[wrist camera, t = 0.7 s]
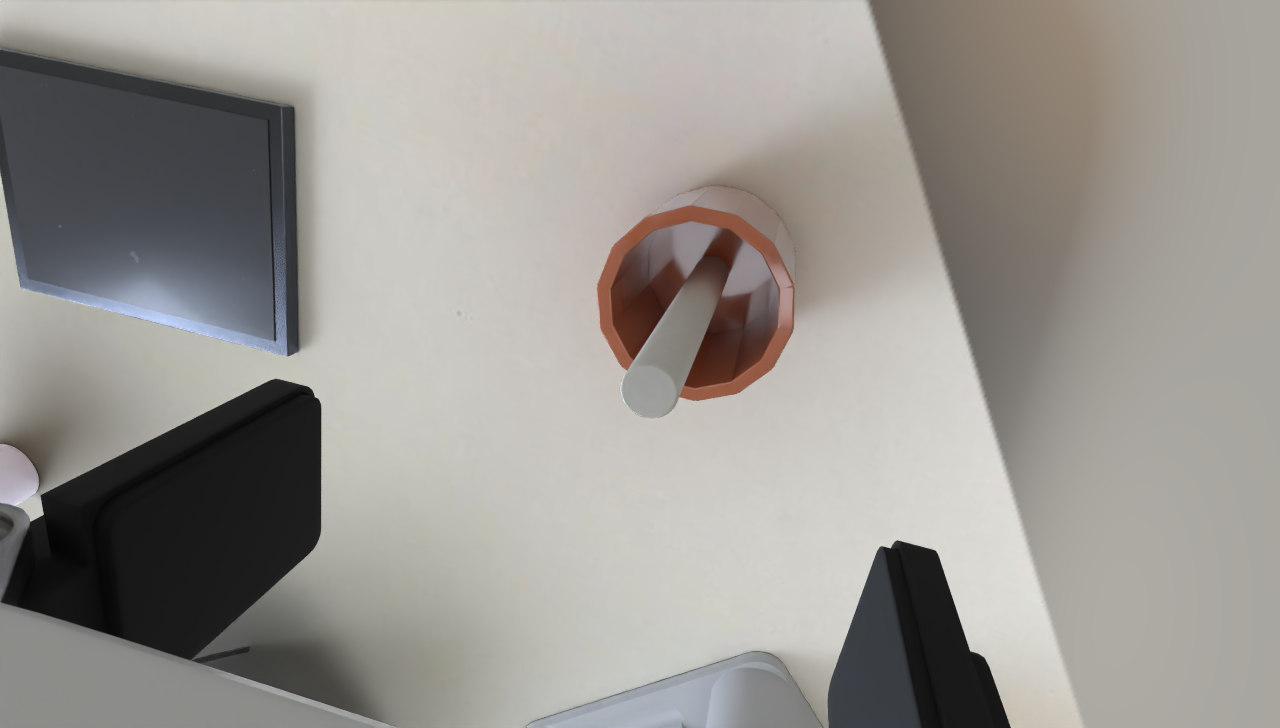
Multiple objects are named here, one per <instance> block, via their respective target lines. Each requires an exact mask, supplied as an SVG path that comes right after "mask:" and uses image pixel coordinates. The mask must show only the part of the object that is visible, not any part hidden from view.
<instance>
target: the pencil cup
mask: <svg viewBox="0 0 1280 728" xmlns="http://www.w3.org/2000/svg"><path fill="white" fill-rule="evenodd" d="M707 256H715V257H718V258H720V259H722V260H723V261H724V262H725V263H726V265H727V267H728V270H729V276H728V279H727V282H726V284H725V287H724V289H723V292H722V294H721V297H720V299H719V301H718V304H717V306H716V309H715V311H714V314H713V316H712V318H711V321H710V323H709V326H708V328H707V331H706V333H705V335H704V338H703V340H702V343H701V345H700V348H699V350H698V352H697V355H696V357H695V360H694V362H693V365H692V367H691V369H690V372H689V374H688V377H687V379H686V382H685V384H684V386H683V389H682V391H681V394H680V396H679V397H681V398H685V399H689V400H693V401H695V400H696V401H699V400H704V399H710V398H716V397H721V396H727V395H732V394H737V393H739V392H741V391H742V390H744V389H745V388H746V387H748V386H749V385H751V384H752V383H753V382H755V381H756V380H758V379H759V378H761V377H762V376H763V375H765V374H766V373H768V372H769V371H770V370H772V368H773V367H774V366H775V364H776V362H777V360H778V358H779V357H780V355H781V353H782V351H783V349H784V347H785V345H786V344H787V342H788V340H789V338H790V336H791V334H792V333H793V329H794V293H795V248H794V245H793V243H792V241H791V238H790V236H789V233H788V231H787V229H786V227H785V225H784V223H783V222H782V220H781V218H780V217H779V215H778V214H777V213H776V212H775V211H774V210H773V209H772V208H771V207H770V206H769V205H767V204H766V203H765V202H764V201H762V200H761V199H759V198H758V197H756V196H754V195H752V194H751V193H749V192H745V191H743V190H740V189H736V188H732V187H725V186H715V185H714V186H713V185H711V186H707V187H701V188H698V189H694V190H691V191H688V192H685V193H681V194H678V195H676V196H675V197H673V198H672V199H671V200H669V201H668V202H666V203H665V204H663V205H662V206H661V207H659V208H658V209H656V210H655V211H653V212H652V213H651V214H649V215H648V216H646V217H645V218H644V219H643V220H641V221H640V222H639V223H638V224H637V225H636V226H635V227H634V228H632V229H631V230H630V231H629V232H628V233H627V234H626V235H625V236H623V237H622V238H621V239H620V240H619V241H618V242H617V243H615V244H614V246H613V247H612V249H611V251H610V254H609V256H608V259H607V261H606V264H605V266H604V269H603V271H602V274H601V276H600V279H599V281H598V284H597V298H598V311H599V325H600V328H601V331H602V333H603V335H604V337H605V338H606V340H607V342H608V344H609V346H610V347H611V349H612V351H613V353H614V355H615V356H616V358H617V360H618V362H619V364H620V365H621V366H622V367H623V368H624V369H626V370H628V369H629V367H630V366H631V364H632V363H633V361H634V360H635V358H636V356H637V355H638V353H639V352H640V350H641V349H642V347H643V346H644V344H645V343H646V341H647V340H648V338H649V337H650V335H651V333H652V332H653V330H654V329H655V327H656V326H657V324H658V323H659V321H660V320H661V318H662V317H663V315H664V314H665V312H666V310H667V309H668V307H669V306H670V304H671V303H672V301H673V300H674V298H675V297H676V295H677V294H678V292H679V291H680V289H681V288H682V286H683V284H684V283H685V281H686V280H687V278H688V277H689V275H690V274H691V272H692V271H693V269H694V268H695V266H696V265H697V263H698V262H699V261H700V260H701V259H702V258H704V257H707Z"/></svg>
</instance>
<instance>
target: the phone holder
mask: <svg viewBox="0 0 1280 728" xmlns="http://www.w3.org/2000/svg"><path fill="white" fill-rule="evenodd" d="M527 728H823V727H822V725H821V724H820V722H819V720H818V719H817V717H816V716H815V714H814V712H813V711H812V709H811V707H810V706H809V704H808V703H807V701H806V699H805V698H804V696H803V695H802V693H801V691H800V690H799V688H798V687H797V685H796V683H795V682H794V680H793V679H792V677H791V675H790V674H789V672H788V671H787V669H786V667H785V666H784V664H783V663H782V662H781V661H780V660H779V659H778V658H776V657H774V656H773V655H770V654H768V653H764V652H750V653H746V654H743V655H740V656H737V657H734V658H731V659H727V660H724V661H721V662H718V663H715V664H712V665H709V666H706V667H703V668H699V669H696V670H693V671H690V672H687V673H684V674H681V675H678V676H674V677H671V678H668V679H665V680H662V681H659V682H656V683H653V684H649V685H646V686H643V687H640V688H637V689H634V690H631V691H628V692H625V693H621V694H618V695H615V696H612V697H609V698H606V699H603V700H600V701H596V702H593V703H590V704H587V705H584V706H581V707H578V708H575V709H572V710H568V711H565V712H562V713H559V714H556V715H553V716H550V717H547V718H543V719H540V720H537V721H534V722H532V723H530V724H529V725H528V726H527Z"/></svg>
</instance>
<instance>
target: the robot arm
mask: <svg viewBox="0 0 1280 728" xmlns="http://www.w3.org/2000/svg"><path fill="white" fill-rule="evenodd" d="M41 501H42V507H43V512H44V515H43V516H41V517H39V518H37V519H35V520H33V521H31V522H30V519H29V516H28V515H27V514H26V513H25V511H24V510H23V509H21V508H18V507H16V506H13V505H11V504H5V503H0V728H397V727H394V726H391V725H388V724H385V723H382V722H379V721H376V720H373V719H370V718H367V717H364V716H361V715H357V714H354V713H351V712H348V711H345V710H342V709H339V708H336V707H333V706H330V705H327V704H324V703H321V702H318V701H315V700H311V699H308V698H305V697H302V696H299V695H296V694H293V693H290V692H287V691H284V690H281V689H278V688H275V687H272V686H268V685H265V684H262V683H259V682H256V681H253V680H250V679H247V678H243V677H240V676H237V675H234V674H231V673H228V672H225V671H221V670H218V669H215V668H212V667H209V666H206V665H203V664H200V663H196V662H193V661H190V660H191V659H192V658H194V657H195V656H196V655H197V654H198V653H199V652H200V651H201V650H202V649H204V648H205V647H206V646H207V645H208V644H209V643H210V642H211V641H212V640H214V639H215V638H216V637H217V636H218V635H219V634H220V633H221V632H223V631H224V630H225V629H226V628H227V627H228V626H229V625H230V624H231V623H233V622H234V621H235V620H236V619H237V618H238V617H239V616H240V615H241V614H243V613H244V612H245V611H246V610H247V609H248V608H249V607H250V606H251V605H253V604H254V603H255V602H256V601H257V600H258V599H259V598H260V597H262V596H263V595H264V594H265V593H266V592H267V591H268V590H269V589H270V588H272V587H273V586H274V585H275V584H276V583H277V582H278V581H279V580H280V579H282V578H283V577H284V576H285V575H286V574H287V573H288V572H289V571H290V570H292V569H293V568H294V567H295V566H296V565H297V564H298V563H299V562H301V561H302V560H303V559H304V558H305V557H306V556H307V555H308V554H309V553H310V552H311V551H312V550H313V549H314V548H315V546H316V544H317V542H318V540H319V537H320V534H321V403H320V401H319V399H317V398H315V396H314V393H313V391H312V389H310V388H309V387H307V386H303V385H299V384H295V383H292V382H288V381H284V380H280V379H273V380H270V381H268V382H266V383H264V384H262V385H260V386H258V387H256V388H254V389H252V390H250V391H248V392H246V393H244V394H242V395H240V396H238V397H236V398H234V399H232V400H230V401H228V402H226V403H224V404H222V405H220V406H218V407H216V408H214V409H212V410H210V411H208V412H206V413H204V414H202V415H200V416H198V417H196V418H194V419H192V420H190V421H188V422H186V423H184V424H182V425H180V426H178V427H176V428H174V429H172V430H170V431H168V432H166V433H164V434H162V435H160V436H158V437H156V438H154V439H152V440H150V441H148V442H146V443H144V444H142V445H140V446H138V447H136V448H134V449H132V450H130V451H128V452H126V453H124V454H122V455H120V456H118V457H116V458H114V459H112V460H110V461H108V462H106V463H104V464H102V465H100V466H98V467H96V468H94V469H92V470H90V471H88V472H86V473H84V474H82V475H80V476H78V477H76V478H74V479H72V480H70V481H68V482H66V483H64V484H62V485H60V486H58V487H56V488H54V489H52V490H50V491H48V492H46V493H44V494H42V495H41ZM828 720H829V728H1011V727H1010V724H1009V721H1008V719H1007V716H1006V713H1005V710H1004V707H1003V704H1002V702H1001V699H1000V696H999V693H998V690H997V688H996V685H995V682H994V679H993V676H992V674H991V671H990V668H989V666H988V664H987V662H986V660H985V658H984V657H982V656H981V655H980V654H977V653H974V652H970V650H969V647H968V644H967V641H966V638H965V635H964V632H963V628H962V625H961V622H960V619H959V616H958V613H957V610H956V607H955V604H954V601H953V598H952V595H951V592H950V589H949V586H948V583H947V580H946V577H945V574H944V571H943V568H942V565H941V562H940V559H939V556H938V554H937V552H936V551H935V550H932V549H928V548H925V547H921V546H917V545H913V544H909V543H905V542H902V541H898V540H897V541H896V542H894V544H893V545H892V547H891V548H887V547H883V546H881V547H880V548H879V549H878V551H877V553H876V556H875V558H874V561H873V564H872V567H871V570H870V572H869V575H868V578H867V581H866V584H865V586H864V589H863V592H862V595H861V597H860V600H859V603H858V606H857V609H856V611H855V614H854V617H853V620H852V623H851V625H850V628H849V631H848V634H847V637H846V639H845V642H844V645H843V648H842V651H841V653H840V656H839V659H838V662H837V665H836V667H835V670H834V673H833V676H832V679H831V682H830V687H829V693H828Z"/></svg>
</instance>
